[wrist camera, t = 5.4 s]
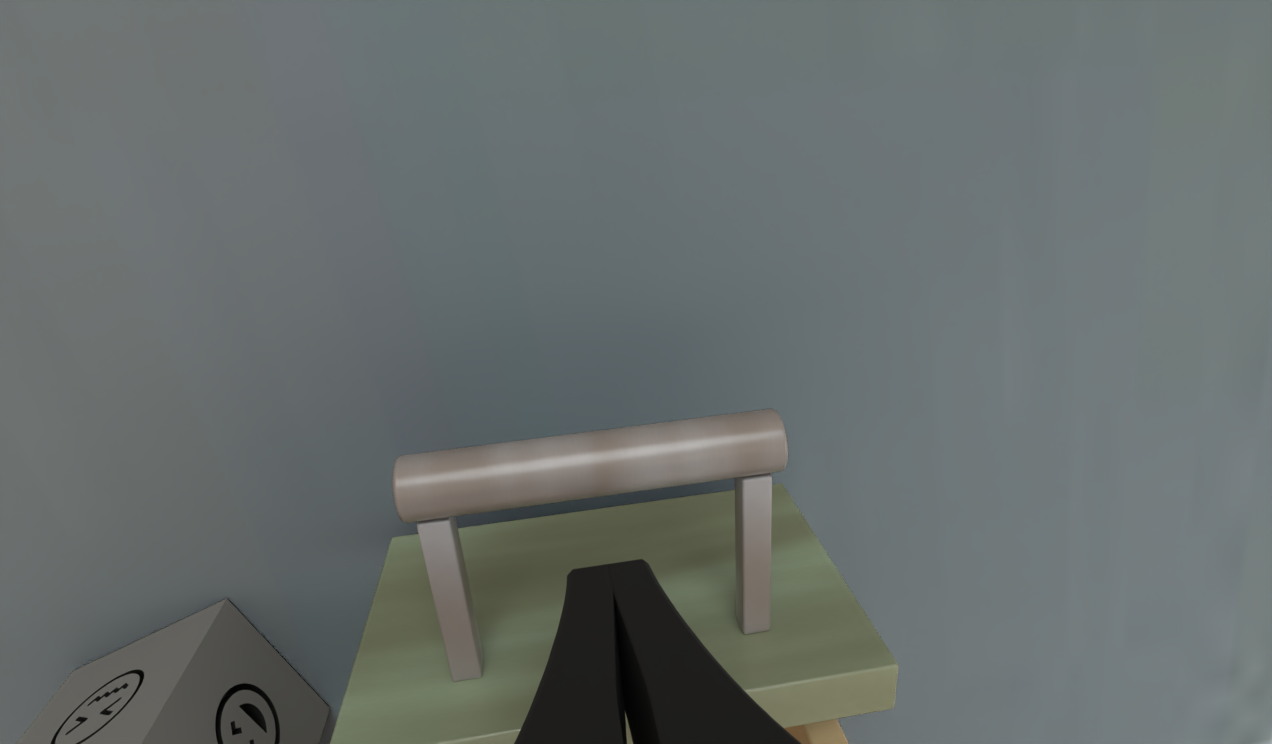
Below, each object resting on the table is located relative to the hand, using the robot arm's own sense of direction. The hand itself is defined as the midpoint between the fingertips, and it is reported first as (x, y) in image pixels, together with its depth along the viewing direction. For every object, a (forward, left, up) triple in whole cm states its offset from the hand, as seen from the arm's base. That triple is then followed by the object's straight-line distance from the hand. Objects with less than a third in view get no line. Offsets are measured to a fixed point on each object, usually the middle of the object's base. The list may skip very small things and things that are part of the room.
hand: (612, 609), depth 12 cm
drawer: (0, -6, -7) cm, 9 cm away
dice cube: (-12, -7, -8) cm, 16 cm away
